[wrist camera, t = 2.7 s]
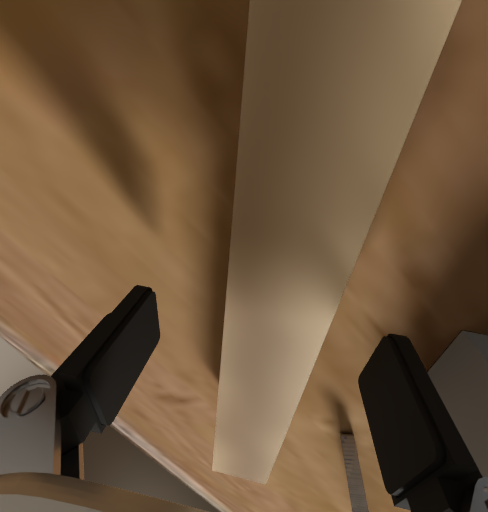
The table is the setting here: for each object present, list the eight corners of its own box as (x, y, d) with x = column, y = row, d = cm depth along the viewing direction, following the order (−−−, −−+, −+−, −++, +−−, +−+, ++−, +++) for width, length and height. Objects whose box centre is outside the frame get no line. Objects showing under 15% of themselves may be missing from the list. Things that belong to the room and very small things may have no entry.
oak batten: (399, -29, 7) (561, -245, 3) (271, 403, 19) (265, 484, 15) (282, -36, 7) (268, -237, 3) (229, 394, 20) (212, 470, 16)
